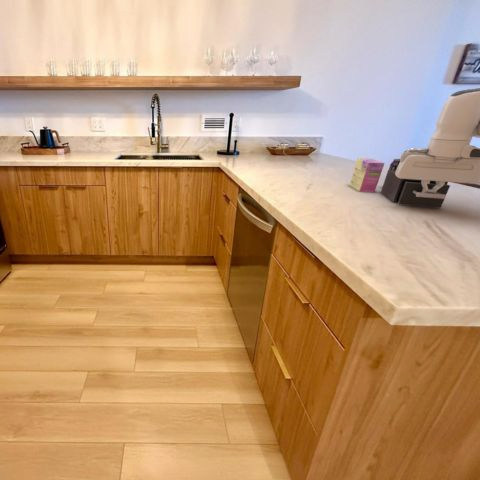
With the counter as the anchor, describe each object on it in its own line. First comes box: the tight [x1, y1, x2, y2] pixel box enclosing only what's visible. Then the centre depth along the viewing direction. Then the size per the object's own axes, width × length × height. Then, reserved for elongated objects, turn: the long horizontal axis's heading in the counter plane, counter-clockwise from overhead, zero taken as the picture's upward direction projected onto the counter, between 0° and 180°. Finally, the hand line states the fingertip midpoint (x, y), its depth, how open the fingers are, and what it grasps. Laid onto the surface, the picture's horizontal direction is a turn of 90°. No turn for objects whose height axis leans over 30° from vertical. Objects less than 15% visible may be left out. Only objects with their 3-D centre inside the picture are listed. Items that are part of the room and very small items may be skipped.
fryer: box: [380, 169, 449, 204], centre depth 103 cm, size 15×13×9 cm
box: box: [348, 157, 385, 193], centre depth 116 cm, size 10×6×12 cm, turn 168°
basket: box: [397, 180, 451, 208], centre depth 98 cm, size 18×11×7 cm, turn 159°
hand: (427, 194), depth 91 cm, fingers closed
